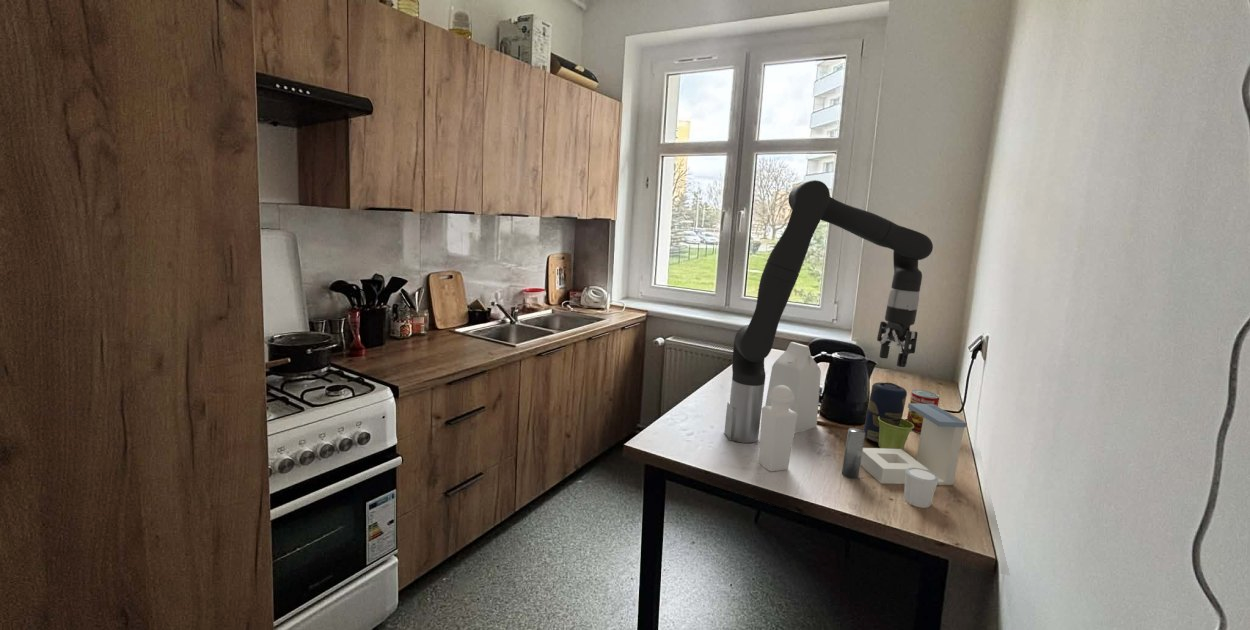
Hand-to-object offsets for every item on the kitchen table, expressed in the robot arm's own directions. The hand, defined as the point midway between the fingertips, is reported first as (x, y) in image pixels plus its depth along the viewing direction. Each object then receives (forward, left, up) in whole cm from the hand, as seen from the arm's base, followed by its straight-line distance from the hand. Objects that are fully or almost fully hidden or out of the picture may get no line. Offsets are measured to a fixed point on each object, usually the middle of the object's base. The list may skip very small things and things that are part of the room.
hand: (891, 362), depth 150 cm
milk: (-20, +17, -26) cm, 37 cm away
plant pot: (+3, -1, -26) cm, 26 cm away
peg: (-17, -17, -26) cm, 36 cm away
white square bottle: (-36, -13, -26) cm, 47 cm away
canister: (+3, +5, -26) cm, 27 cm away
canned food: (+23, +16, -26) cm, 38 cm away
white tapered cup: (-7, -30, -26) cm, 40 cm away
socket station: (-2, -15, -26) cm, 30 cm away
